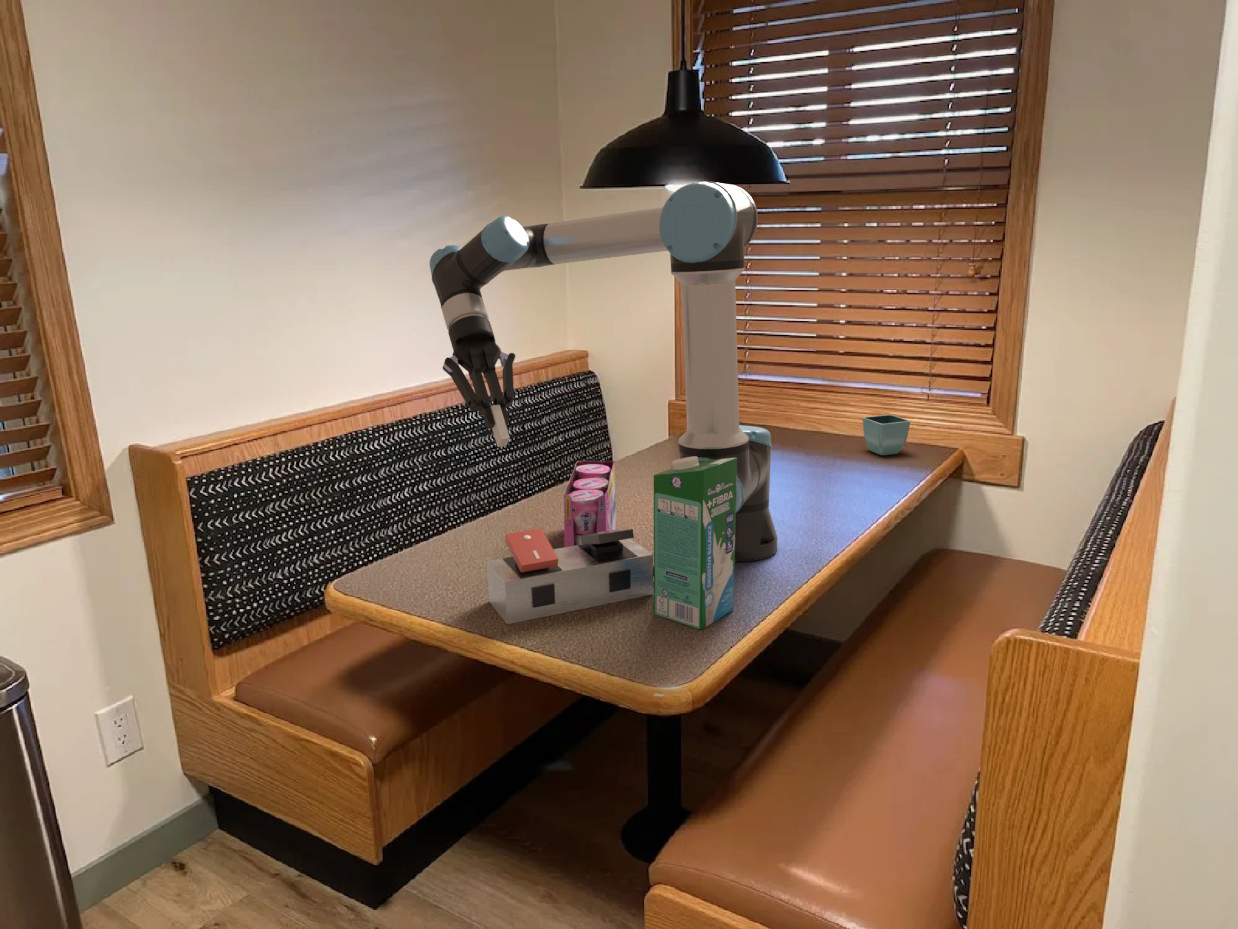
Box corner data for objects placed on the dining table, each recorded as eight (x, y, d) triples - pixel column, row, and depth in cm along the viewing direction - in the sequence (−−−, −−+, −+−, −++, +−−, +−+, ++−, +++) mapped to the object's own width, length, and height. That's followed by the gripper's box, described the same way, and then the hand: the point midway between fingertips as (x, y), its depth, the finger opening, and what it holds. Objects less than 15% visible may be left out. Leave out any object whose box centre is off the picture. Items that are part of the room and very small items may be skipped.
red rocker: (540, 535, 146) (541, 527, 145) (557, 565, 140) (558, 558, 139) (505, 541, 144) (505, 533, 143) (521, 572, 138) (521, 565, 137)
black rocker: (614, 538, 151) (613, 529, 151) (634, 537, 144) (632, 528, 144) (581, 544, 149) (580, 535, 149) (599, 543, 142) (598, 534, 142)
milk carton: (686, 595, 147) (688, 447, 140) (734, 610, 141) (737, 456, 134) (653, 614, 140) (652, 459, 133) (701, 630, 135) (703, 469, 128)
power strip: (664, 567, 159) (664, 523, 156) (691, 587, 150) (691, 541, 148) (488, 601, 146) (486, 554, 143) (507, 625, 137) (505, 575, 135)
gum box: (607, 571, 157) (606, 497, 154) (562, 571, 158) (560, 497, 154) (616, 525, 180) (615, 460, 177) (577, 525, 181) (575, 460, 177)
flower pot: (859, 450, 234) (861, 416, 231) (888, 447, 236) (891, 413, 234) (878, 458, 225) (880, 423, 223) (908, 455, 228) (911, 421, 226)
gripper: (498, 335, 164) (534, 448, 155) (428, 340, 158) (461, 458, 150) (508, 311, 158) (546, 427, 149) (436, 315, 152) (470, 436, 144)
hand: (503, 442), depth 149 cm, fingers closed
